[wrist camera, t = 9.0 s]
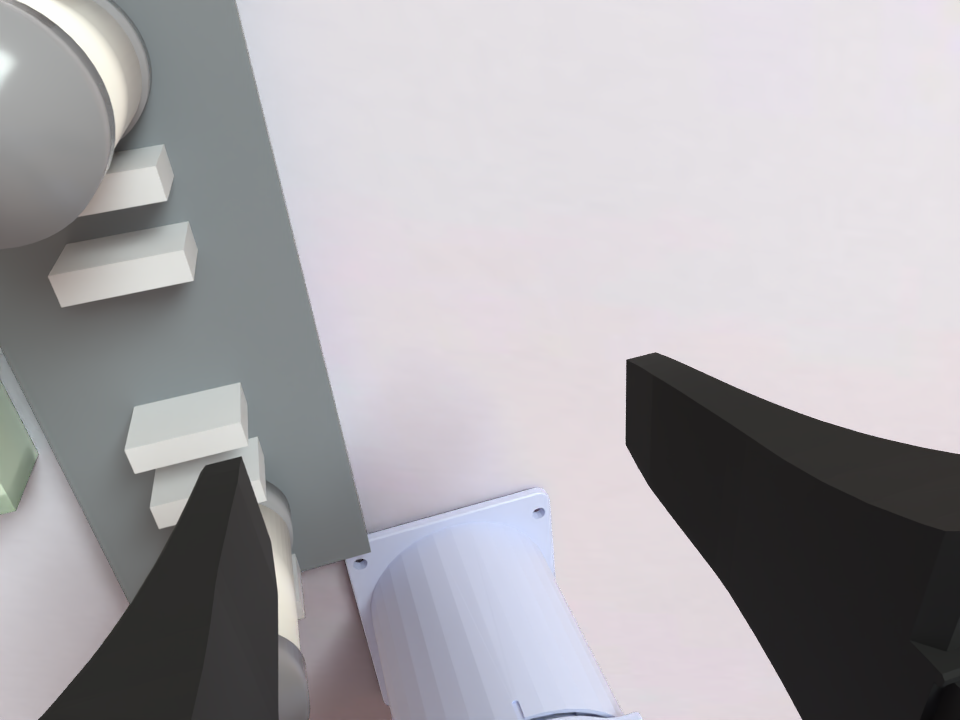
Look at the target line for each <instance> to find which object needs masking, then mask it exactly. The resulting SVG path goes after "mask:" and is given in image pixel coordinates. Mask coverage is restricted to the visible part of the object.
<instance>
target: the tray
mask: <svg viewBox="0 0 960 720" xmlns="http://www.w3.org/2000/svg"><path fill="white" fill-rule="evenodd" d="M37 456H38V452H37V450H36V448H35V446H34V445H33V443H32V441H31V439H30V437H29V435H28V433H27V431H26V429H25V427H24V425H23V423H22V421H21V419H20V417H19V415H18V414H17V412H16V410H15V408H14V406H13V404H12V402H11V400H10V398H9V396H8V394H7V392H6V390H5V388H4V386H3V385H2V383H1V381H0V515H2V514H6V513H10V512H14V511H16V510H17V507H18V505H19V502H20V500H21V497H22V495H23V492H24V489H25V487H26V484H27V482H28V479H29V477H30V474H31V472H32V469H33V467H34V464H35V461H36V459H37Z"/></svg>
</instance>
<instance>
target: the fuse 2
mask: <svg viewBox="0 0 960 720" xmlns="http://www.w3.org/2000/svg"><path fill="white" fill-rule="evenodd" d="M266 498H267V501H264V502H260V503H258V505H259V508H260V511H261V514H262V516H263V519H264V522H265V525H266V528H267V531H268V534H269V537H270V540H271V543H272V551H273V558H274V565H275V573H276V581H277V589H278V712H279V720H308V719H309V714H310V702H309V692H308V682H307V672H306V664H305V659H304V657H303V655H302V653H301V651H300V640H299V629H298V618H297V607H296V597H295V586H294V575H293V564H292V553H291V549H292V546H293V529H292V519H291V510H290V505H289V503H288V500H287V498H286V497H285V495H284V494H283V493H282V491H281V490H280V489H278V488H277V487H276V486H275V485H273V484H272V483H270V482H268V481H266ZM175 526H176V525H174V526H173V529H174V527H175Z"/></svg>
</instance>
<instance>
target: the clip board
mask: <svg viewBox="0 0 960 720" xmlns="http://www.w3.org/2000/svg"><path fill="white" fill-rule="evenodd" d="M113 1H114V2H115V3H116V4H117V5H118V6H120V7H121V8H122V9H123V10H124V11H125V13H126V14H127V15H128V16H129V17H130V19H131V20H132V21H133V23H134V24H135V26H136V27H137V29H138V30H139V32H140V34H141V36H142V38H143V40H144V42H145V44H146V47H147V50H148V53H149V57H150V61H151V68H152V85H151V92H150V96H149V99H148V102H147V104H146V106H145V108H144V110H143V112H142V114H141V116H140V117H139V119H138V121H137V122H136V124H135V125H134V126H133V128H132V129H131V130H130V131H129V132H128V133H127V134H126V135H125V137H123V138H122V139H121V140H119V142H118V143H117V145H116V147H115V148H114V153H113V157H112V160H111V163H110V166H109V169H108V171H107V173H106V175H105V177H104V179H103V181H102V182H101V184H100V186H99V187H98V189H97V191H96V193H95V194H94V196H93V198H92V199H91V201H90V202H89V204H88V205H87V206H86V208H85V209H84V211H83V212H82V213H81V214H80V215H79V216H78V217H77V218H76V219H75V220H74V221H73V222H72V223H70V224H69V225H68V226H66V227H65V228H64V229H62V230H61V231H59V232H57V233H55V234H54V235H52V236H50V237H48V238H46V239H43V240H40V241H38V242H35V243H32V244H28V245H24V246H20V247H14V248H6V249H0V347H1V349H2V351H3V353H4V355H5V357H6V359H7V361H8V363H9V365H10V367H11V369H12V371H13V373H14V375H15V377H16V379H17V381H18V383H19V385H20V387H21V389H22V391H23V393H24V395H25V397H26V399H27V401H28V403H29V405H30V407H31V409H32V411H33V413H34V415H35V417H36V419H37V421H38V423H39V425H40V427H41V429H42V431H43V433H44V435H45V437H46V439H47V441H48V443H49V445H50V447H51V449H52V451H53V453H54V455H55V457H56V459H57V461H58V463H59V465H60V466H61V468H62V470H63V472H64V474H65V476H66V478H67V480H68V482H69V484H70V486H71V488H72V490H73V492H74V494H75V496H76V498H77V500H78V502H79V504H80V506H81V508H82V510H83V512H84V514H85V516H86V518H87V520H88V522H89V524H90V526H91V528H92V530H93V532H94V534H95V536H96V538H97V540H98V542H99V544H100V546H101V548H102V550H103V552H104V554H105V556H106V558H107V560H108V562H109V564H110V566H111V568H112V570H113V572H114V574H115V576H116V578H117V580H118V582H119V584H120V586H121V588H122V590H123V592H124V594H125V596H126V598H127V600H128V602H129V604H131V602H132V600H133V599H134V597H135V596H136V594H137V592H138V591H139V589H140V587H141V586H142V584H143V582H144V581H145V579H146V578H147V576H148V574H149V573H150V571H151V569H152V568H153V566H154V564H155V563H156V561H157V559H158V557H159V556H160V554H161V552H162V550H163V548H164V546H165V544H166V542H167V541H168V539H169V537H170V535H171V533H172V531H173V526H174V525H176V524H177V522H178V520H179V517H180V515H181V513H182V511H183V509H184V507H185V505H186V503H187V501H188V499H189V497H190V495H191V492H192V490H193V488H194V486H195V484H196V481H197V479H198V477H199V475H200V472H201V471H202V469H203V468H204V467H205V465H209V464H213V463H217V462H221V461H224V460H228V459H232V458H236V457H240V456H242V459H243V462H244V464H245V467H246V470H247V473H248V476H249V479H250V482H251V485H252V488H253V490H254V493H255V496H256V499H257V502H258V503H260V502H264V501H267V498H266V481H268V482H270V483H272V484H273V485H275V486H276V487H277V488H278V489H280V490H281V491H282V493H283V494H284V495H285V497H286V498H287V500H288V503H289V505H290V510H291V519H292V529H293V546H292V549H291V553H292V564H293V575H294V586H295V597H296V607H297V618H298V620H300V619H303V618H305V609H304V600H303V590H302V580H301V572H303V571H306V570H310V569H313V568H317V567H321V566H324V565H328V564H331V563H335V562H338V561H342V560H345V559H349V558H352V557H356V556H359V555H363V554H366V553H370V552H371V548H370V544H369V540H368V535H367V531H366V527H365V523H364V519H363V514H362V510H361V506H360V502H359V498H358V494H357V490H356V486H355V482H354V478H353V474H352V470H351V466H350V462H349V458H348V454H347V450H346V446H345V442H344V438H343V434H342V430H341V425H340V421H339V417H338V413H337V409H336V405H335V401H334V397H333V393H332V389H331V385H330V381H329V377H328V373H327V369H326V365H325V361H324V357H323V353H322V349H321V345H320V340H319V336H318V332H317V328H316V324H315V320H314V316H313V312H312V308H311V304H310V300H309V296H308V292H307V288H306V284H305V280H304V276H303V272H302V268H301V264H300V260H299V255H298V251H297V247H296V243H295V239H294V235H293V231H292V227H291V223H290V219H289V215H288V211H287V207H286V203H285V199H284V195H283V191H282V187H281V183H280V179H279V175H278V171H277V166H276V162H275V158H274V154H273V150H272V146H271V142H270V138H269V134H268V130H267V126H266V122H265V118H264V114H263V110H262V106H261V102H260V98H259V94H258V90H257V86H256V81H255V77H254V73H253V69H252V65H251V61H250V57H249V53H248V49H247V45H246V41H245V37H244V33H243V29H242V25H241V21H240V17H239V13H238V9H237V5H236V1H235V0H113Z"/></svg>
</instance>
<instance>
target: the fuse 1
mask: <svg viewBox="0 0 960 720" xmlns="http://www.w3.org/2000/svg"><path fill="white" fill-rule="evenodd" d="M151 85H152V68H151V61H150V57H149V53H148V50H147V47H146V44H145V42H144V40H143V38H142V36H141V34H140V32H139V30H138V29H137V27H136V26H135V24H134V23H133V21H132V20H131V19H130V17H129V16H128V15H127V14H126V13H125V11H124V10H123V9H122V8H121V7H120V6H118V5H117V4H116V3H115V2H114V1H113V0H0V249H6V248H14V247H20V246H24V245H28V244H32V243H35V242H38V241H40V240H43V239H46V238H48V237H50V236H52V235H54V234H55V233H57V232H59V231H61V230H62V229H64V228H65V227H66V226H68V225H69V224H70V223H72V222H73V221H74V220H75V219H76V218H77V217H78V216H79V215H80V214H81V213H82V212H83V211H84V209H85V208H86V206H87V205H88V204H89V202H90V201H91V199H92V198H93V196H94V194H95V193H96V191H97V189H98V187H99V186H100V184H101V182H102V181H103V179H104V177H105V175H106V173H107V171H108V169H109V166H110V163H111V160H112V157H113V153H114V148H115V147H116V145H117V143H118V142H119V140H121V139H122V138H123V137H125V135H126V134H127V133H128V132H129V131H130V130H131V129H132V128H133V126H134V125H135V124H136V122H137V121H138V119H139V117H140V116H141V114H142V112H143V110H144V108H145V106H146V104H147V102H148V99H149V96H150V92H151Z"/></svg>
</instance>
